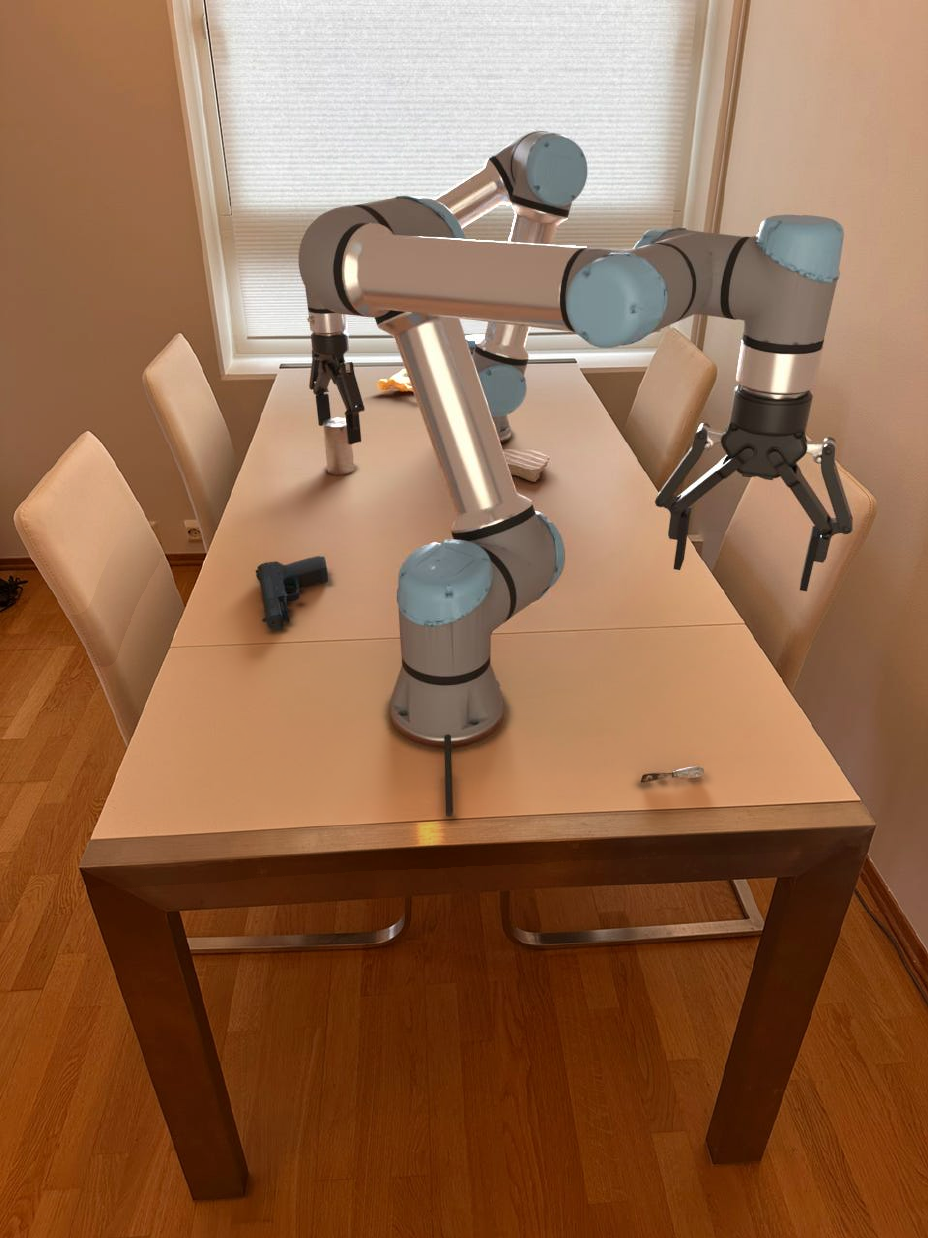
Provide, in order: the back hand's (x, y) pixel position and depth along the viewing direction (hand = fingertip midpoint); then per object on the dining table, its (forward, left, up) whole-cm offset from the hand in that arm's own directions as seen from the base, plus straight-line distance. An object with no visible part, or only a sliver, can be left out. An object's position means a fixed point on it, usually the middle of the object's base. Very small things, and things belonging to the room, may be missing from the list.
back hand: (339, 433), depth 189 cm
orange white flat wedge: (-51, +27, -8) cm, 58 cm away
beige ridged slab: (+9, +37, -8) cm, 39 cm away
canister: (0, 0, -8) cm, 8 cm away
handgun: (+54, -13, -8) cm, 56 cm away
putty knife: (+108, +30, -8) cm, 112 cm away
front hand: (+104, +37, +18) cm, 112 cm away
